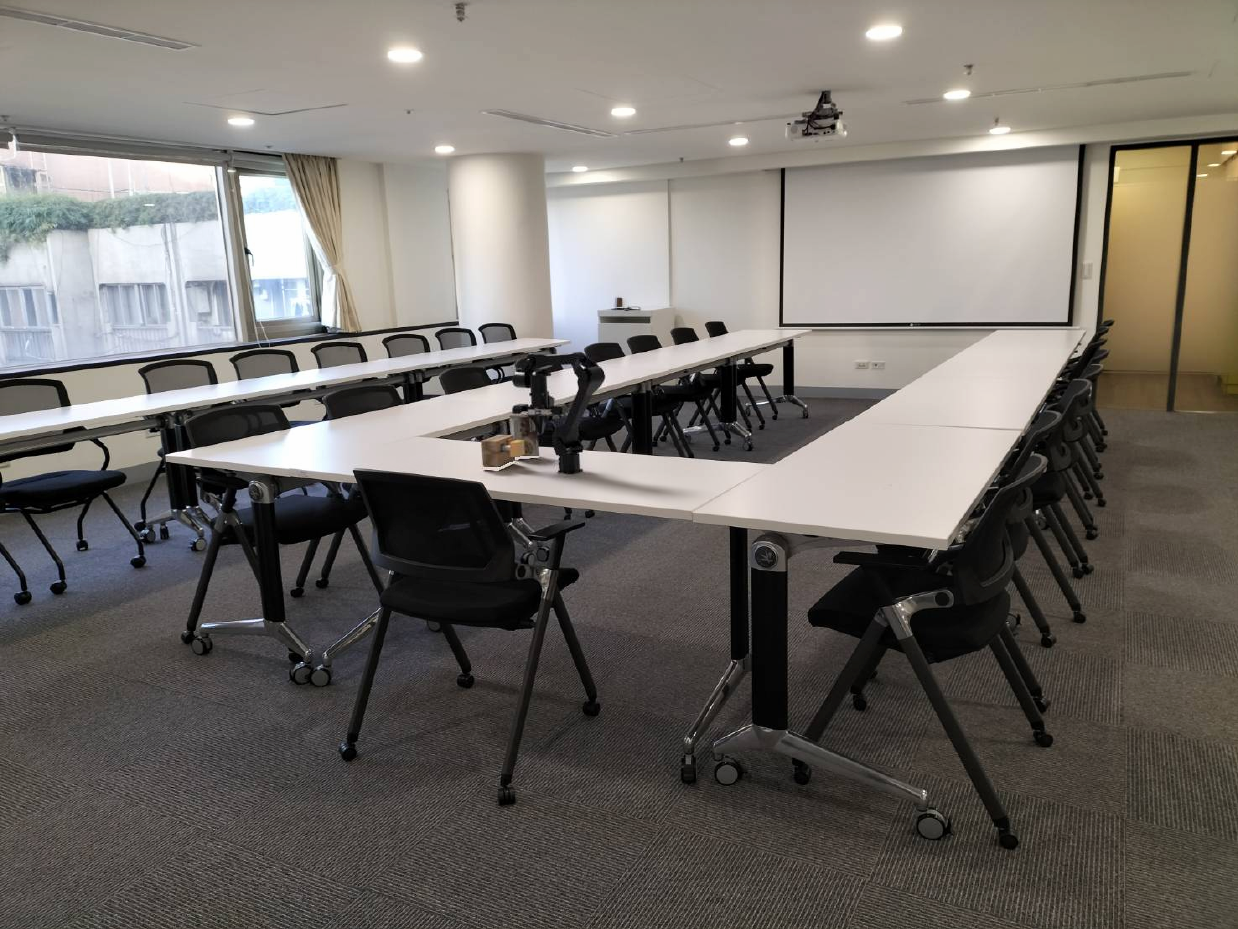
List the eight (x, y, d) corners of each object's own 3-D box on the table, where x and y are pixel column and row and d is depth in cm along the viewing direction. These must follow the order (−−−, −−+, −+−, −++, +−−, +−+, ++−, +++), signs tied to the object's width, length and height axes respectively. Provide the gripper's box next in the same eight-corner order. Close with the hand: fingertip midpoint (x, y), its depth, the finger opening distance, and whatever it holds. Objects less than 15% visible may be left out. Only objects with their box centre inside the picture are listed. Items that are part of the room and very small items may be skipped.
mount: (517, 464, 314) (516, 435, 312) (501, 471, 302) (499, 441, 300) (500, 463, 317) (498, 434, 315) (483, 470, 305) (481, 441, 303)
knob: (524, 454, 305) (523, 440, 304) (518, 457, 301) (517, 442, 300) (506, 453, 308) (505, 439, 307) (499, 456, 303) (498, 442, 302)
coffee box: (535, 455, 330) (532, 413, 327) (539, 458, 324) (537, 415, 321) (511, 458, 327) (508, 415, 324) (515, 460, 321) (512, 417, 318)
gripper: (572, 386, 305) (574, 430, 308) (523, 386, 311) (526, 429, 314) (560, 390, 295) (562, 436, 298) (510, 389, 301) (512, 434, 304)
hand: (541, 433), depth 304 cm, fingers closed
